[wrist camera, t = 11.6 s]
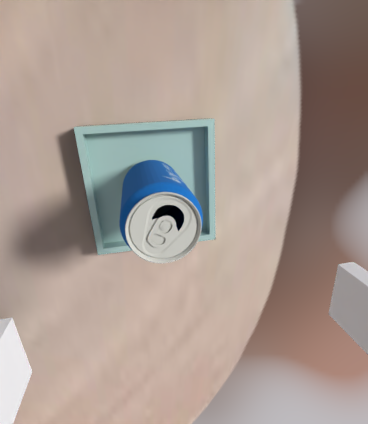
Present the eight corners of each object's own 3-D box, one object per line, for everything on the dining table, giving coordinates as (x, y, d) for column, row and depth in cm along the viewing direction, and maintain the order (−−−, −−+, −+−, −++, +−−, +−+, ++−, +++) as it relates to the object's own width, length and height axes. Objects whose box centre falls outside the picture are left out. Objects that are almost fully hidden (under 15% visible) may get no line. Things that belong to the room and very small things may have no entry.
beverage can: (189, 174, 31) (223, 209, 20) (163, 221, 32) (181, 279, 21) (138, 148, 29) (143, 170, 18) (113, 199, 30) (103, 250, 19)
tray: (77, 126, 27) (73, 127, 25) (209, 118, 29) (214, 118, 28) (99, 246, 32) (98, 254, 30) (210, 232, 35) (215, 239, 33)
